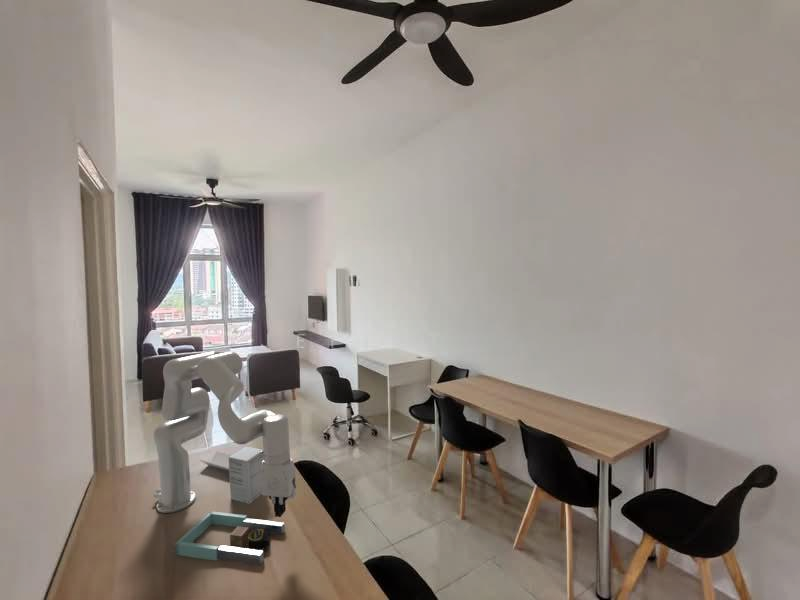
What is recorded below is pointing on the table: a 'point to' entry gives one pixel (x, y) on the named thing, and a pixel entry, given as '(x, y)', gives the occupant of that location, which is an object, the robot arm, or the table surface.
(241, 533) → the tan cardboard cube
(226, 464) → the z bracket
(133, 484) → the table surface
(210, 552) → the u shaped frame
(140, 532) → the table surface
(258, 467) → the supplement box
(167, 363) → the robot arm
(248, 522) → the slot rails
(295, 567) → the table surface
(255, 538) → the tape measure
